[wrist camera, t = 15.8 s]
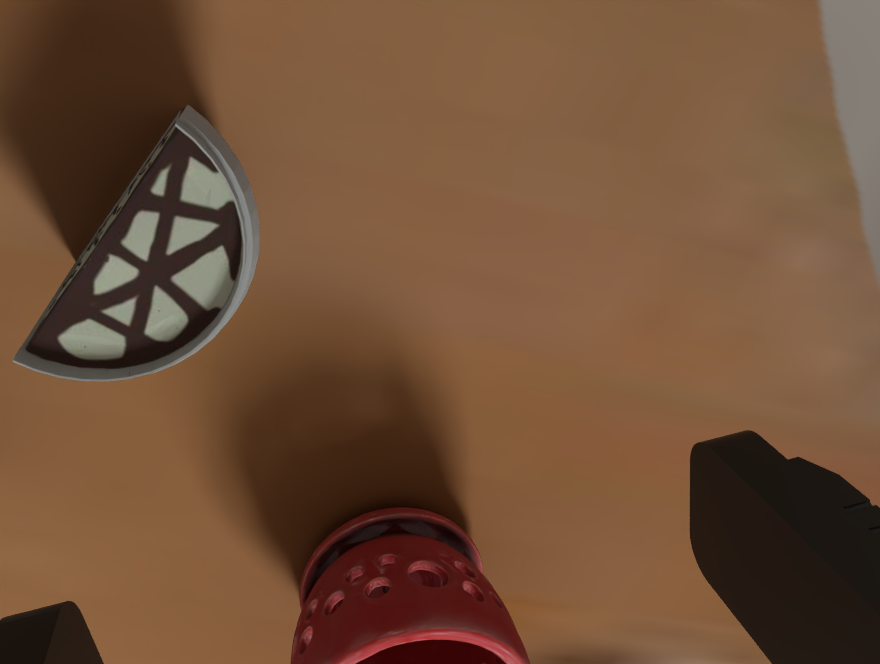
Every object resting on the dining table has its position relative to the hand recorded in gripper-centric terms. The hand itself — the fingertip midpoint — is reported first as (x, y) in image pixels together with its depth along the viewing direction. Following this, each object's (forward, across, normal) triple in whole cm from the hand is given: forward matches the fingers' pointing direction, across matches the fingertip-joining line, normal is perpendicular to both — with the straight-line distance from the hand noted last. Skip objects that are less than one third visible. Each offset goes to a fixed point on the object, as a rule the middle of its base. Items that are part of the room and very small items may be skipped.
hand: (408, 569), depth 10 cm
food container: (+32, +6, +3) cm, 33 cm away
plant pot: (+32, 0, +28) cm, 43 cm away
